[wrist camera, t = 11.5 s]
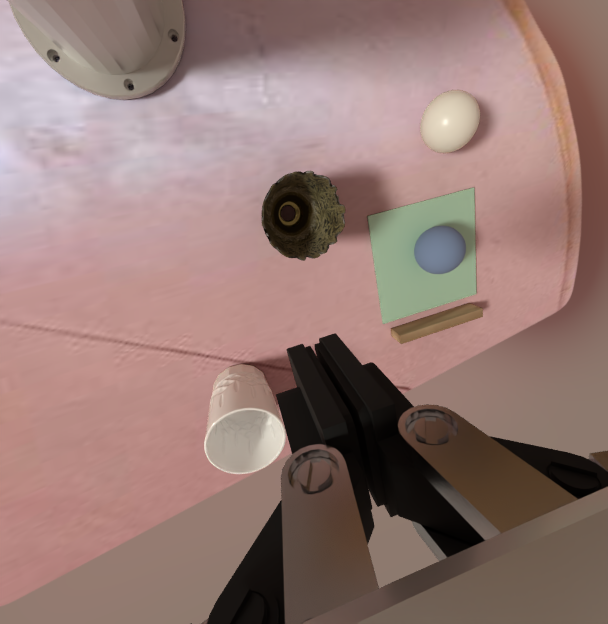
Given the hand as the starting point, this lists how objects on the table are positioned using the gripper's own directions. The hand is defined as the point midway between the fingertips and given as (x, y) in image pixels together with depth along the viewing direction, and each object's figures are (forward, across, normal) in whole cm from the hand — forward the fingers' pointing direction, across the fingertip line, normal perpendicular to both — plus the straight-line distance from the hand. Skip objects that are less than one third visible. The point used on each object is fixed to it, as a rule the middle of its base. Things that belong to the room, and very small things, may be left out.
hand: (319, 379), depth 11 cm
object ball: (+24, -21, +5) cm, 33 cm away
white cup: (+27, +6, +16) cm, 32 cm away
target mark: (+27, -21, +6) cm, 35 cm away
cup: (+27, -5, -3) cm, 28 cm away
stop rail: (+27, -21, +15) cm, 38 cm away
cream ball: (+24, -23, -8) cm, 34 cm away
